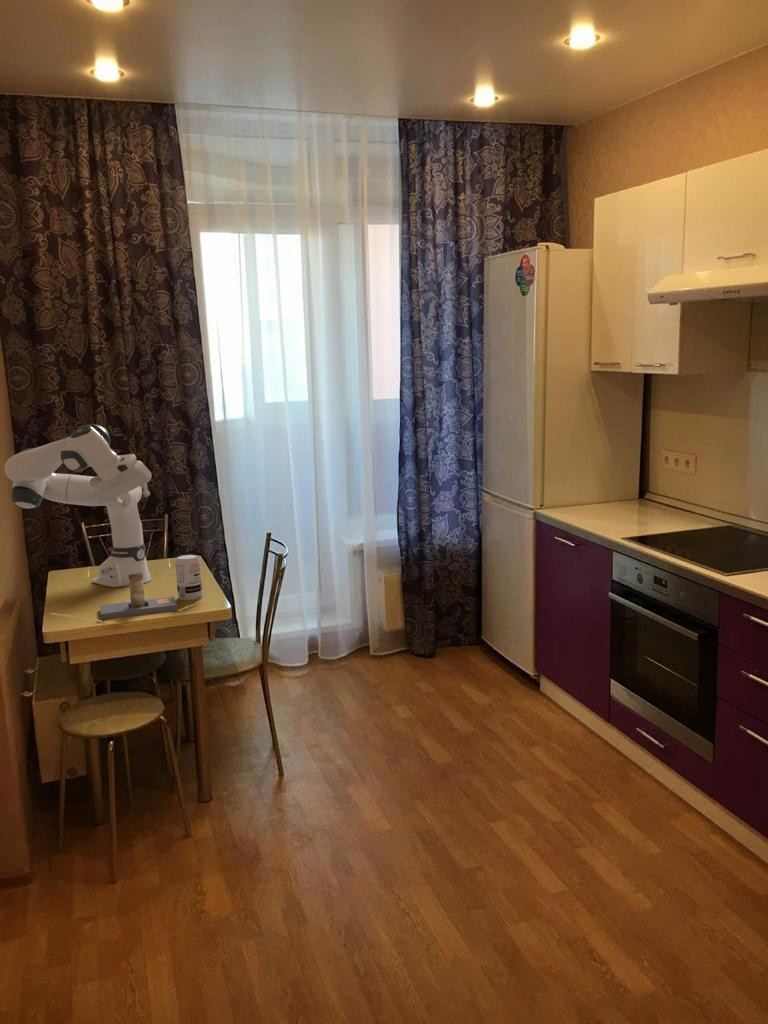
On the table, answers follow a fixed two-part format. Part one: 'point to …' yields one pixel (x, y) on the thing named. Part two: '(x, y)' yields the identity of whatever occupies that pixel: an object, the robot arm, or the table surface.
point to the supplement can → (188, 577)
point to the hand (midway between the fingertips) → (136, 500)
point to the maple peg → (136, 590)
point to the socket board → (150, 607)
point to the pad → (130, 600)
